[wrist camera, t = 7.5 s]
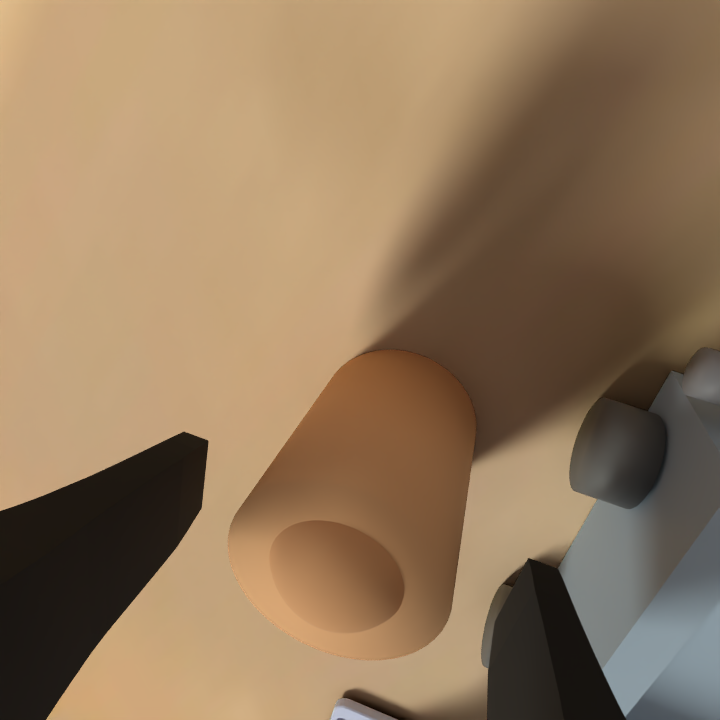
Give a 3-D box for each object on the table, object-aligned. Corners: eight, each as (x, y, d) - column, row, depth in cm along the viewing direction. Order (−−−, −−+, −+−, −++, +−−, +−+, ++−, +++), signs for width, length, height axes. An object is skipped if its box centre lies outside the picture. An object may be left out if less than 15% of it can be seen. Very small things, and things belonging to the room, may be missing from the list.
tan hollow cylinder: (449, 505, 16) (408, 728, 11) (311, 455, 17) (198, 639, 11) (499, 380, 14) (484, 571, 8) (339, 328, 15) (219, 471, 9)
